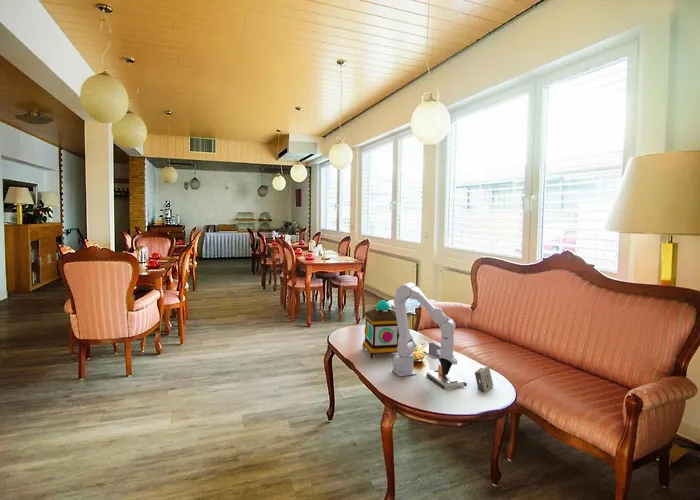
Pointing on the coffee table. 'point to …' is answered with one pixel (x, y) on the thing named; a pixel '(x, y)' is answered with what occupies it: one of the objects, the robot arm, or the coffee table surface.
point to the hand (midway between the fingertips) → (445, 374)
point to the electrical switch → (484, 379)
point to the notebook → (433, 350)
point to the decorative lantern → (381, 330)
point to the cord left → (435, 381)
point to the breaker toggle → (440, 369)
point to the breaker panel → (446, 379)
